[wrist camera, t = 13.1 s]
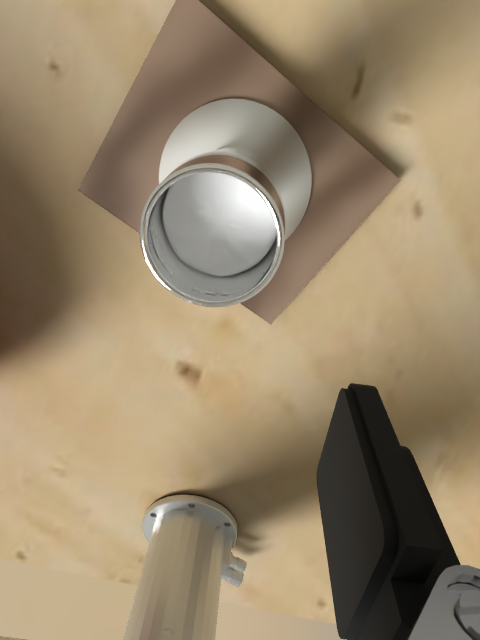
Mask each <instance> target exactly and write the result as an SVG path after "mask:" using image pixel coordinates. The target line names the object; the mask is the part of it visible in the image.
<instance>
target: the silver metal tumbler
mask: <svg viewBox="0 0 480 640" xmlns="http://www.w3.org/2000/svg"><path fill="white" fill-rule="evenodd" d="M285 227H286V219H285V208H284V203H283V199H282V196H281V193H280V191H279V189H278V186H277V184H276V182H275V181H274V179H273V177H272V176H271V173H270V170H269V168H268V166H267V165H266V163H265V162H264V161H263V160H262V158H261V157H260V156H258V155H257V154H256V153H254V152H253V151H251V150H249V149H246V148H243V147H237V146H231V147H225V148H222V149H219V150H212V151H207V152H204V153H201V154H198V155H195V156H193V157H191V158H189V159H187V160H185V161H184V162H183V163H181V164H180V165H179V166H177V167H176V168H175V169H174V170H173V171H171V172H170V173H169V174H168V176H167V177H166V178H165V179H164V180H163V181H162V182H161V183H160V184H159V185H158V186H157V187H156V188H155V190H154V191H153V192H152V194H151V195H150V197H149V198H148V200H147V202H146V204H145V207H144V210H143V213H142V217H141V222H140V242H141V248H142V252H143V255H144V258H145V260H146V263H147V265H148V267H149V268H150V270H151V272H152V273H153V275H154V276H155V277H156V279H157V280H158V281H159V282H160V283H161V284H162V285H163V286H164V287H165V288H166V289H167V290H168V291H170V292H171V293H172V294H174V295H175V296H177V297H179V298H181V299H183V300H185V301H187V302H190V303H193V304H196V305H200V306H206V307H225V306H231V305H235V304H238V303H241V302H244V301H246V300H248V299H250V298H251V297H253V296H255V295H256V294H257V293H259V292H260V291H261V290H262V289H263V288H264V287H265V286H266V285H267V284H268V283H269V282H270V281H271V279H272V278H273V276H274V275H275V273H276V271H277V269H278V267H279V265H280V262H281V259H282V256H283V251H284V243H285Z"/></svg>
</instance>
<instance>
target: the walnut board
mask: <svg viewBox="0 0 480 640" xmlns="http://www.w3.org/2000/svg"><path fill="white" fill-rule="evenodd" d="M231 146H237V147H243V148H246V149H249V150H251V151H253V152H254V153H256V154H257V155H258V156H260V157H261V158H262V160H263V161H264V162H265V163H266V165H267V166H268V168H269V170H270V173H271V176H272V177H273V179H274V181H275V182H276V184H277V186H278V189H279V191H280V193H281V196H282V199H283V203H284V208H285V219H286V227H285V243H284V251H283V256H282V259H281V262H280V265H279V267H278V269H277V271H276V273H275V275H274V276H273V278H272V279H271V281H270V282H269V283H268V284H267V285H266V286H265V287H264V288H263V289H262V290H261V291H260V292H259V293H257V294H256V295H255V296H253V297H251V298H250V299H248V300H246V301H244V302H241V304H242V305H244V306H245V307H246V308H248V309H249V310H251V311H252V312H254V313H255V314H257V315H258V316H259V317H261V318H262V319H264V320H265V321H267V322H268V323H269V324H272V323H273V321H274V320H275V319H276V318H277V317H278V316H279V315H280V314H281V313H282V311H283V310H284V309H285V308H286V307H287V306H288V305H289V304H290V303H291V301H292V300H293V299H294V298H295V297H296V296H297V295H298V294H299V293H300V292H301V290H302V289H303V288H304V287H305V286H306V285H307V284H308V283H309V282H310V280H311V279H312V278H313V277H314V276H315V275H316V274H317V273H318V272H319V270H320V269H321V268H322V267H323V266H324V265H325V264H326V263H327V262H328V260H329V259H330V258H331V257H332V256H333V255H334V254H335V253H336V252H337V250H338V249H339V248H340V247H341V246H342V245H343V244H344V243H345V242H346V240H347V239H348V238H349V237H350V236H351V235H352V234H353V233H354V232H355V231H356V229H357V228H358V227H359V226H360V225H361V224H362V223H363V222H364V221H365V219H366V218H367V217H368V216H369V215H370V214H371V213H372V212H373V211H374V209H375V208H376V207H377V206H378V205H379V204H380V203H381V202H382V201H383V199H384V198H385V197H386V196H387V195H388V194H389V193H390V192H391V191H392V189H393V188H394V187H395V186H396V185H397V184H398V183H399V182H400V181H401V180H400V179H399V178H397V177H396V176H395V175H394V174H393V173H392V172H391V171H390V170H389V169H387V168H386V167H385V166H384V165H383V164H382V163H381V162H380V161H378V160H377V159H376V158H375V157H374V156H373V155H372V154H371V153H369V152H368V151H367V150H366V149H365V148H364V147H363V146H362V145H360V144H359V143H358V142H357V141H356V140H355V139H354V138H353V137H351V136H350V135H349V134H348V133H347V132H346V131H345V130H344V129H342V128H341V127H340V126H339V125H338V124H337V123H336V122H335V121H334V120H332V119H331V118H330V117H329V116H328V115H327V114H326V113H325V112H323V111H322V110H321V109H320V108H319V107H318V106H317V105H316V104H314V103H313V102H312V101H311V100H310V99H309V98H308V97H307V96H305V95H304V94H303V93H302V92H301V91H300V90H299V89H298V88H296V87H295V86H294V85H293V84H292V83H291V82H290V81H289V80H287V79H286V78H285V77H284V76H283V75H282V74H281V73H280V72H278V71H277V70H276V69H275V68H274V67H273V66H272V65H271V64H270V63H268V62H267V61H266V60H265V59H264V58H263V57H262V56H261V55H259V54H258V53H257V52H256V51H255V50H254V49H253V48H252V47H250V46H249V45H248V44H247V43H246V42H245V41H244V40H243V39H241V38H240V37H239V36H238V35H237V34H236V33H235V32H234V31H232V30H231V29H230V28H229V27H228V26H227V25H226V24H225V23H223V22H222V21H221V20H220V19H219V18H218V17H217V16H216V15H215V14H213V13H212V12H211V11H210V10H209V9H208V8H207V7H206V6H204V5H203V4H202V3H201V2H200V1H199V0H176V1H175V3H174V5H173V7H172V9H171V11H170V13H169V15H168V17H167V19H166V21H165V23H164V25H163V27H162V29H161V30H160V32H159V34H158V36H157V38H156V40H155V42H154V44H153V46H152V48H151V50H150V52H149V54H148V56H147V58H146V60H145V62H144V63H143V65H142V67H141V69H140V71H139V73H138V75H137V77H136V79H135V81H134V83H133V85H132V87H131V89H130V91H129V93H128V95H127V97H126V98H125V100H124V102H123V104H122V106H121V108H120V110H119V112H118V114H117V116H116V118H115V120H114V122H113V124H112V126H111V128H110V130H109V131H108V133H107V135H106V137H105V139H104V141H103V143H102V145H101V147H100V149H99V151H98V153H97V155H96V157H95V159H94V161H93V163H92V165H91V166H90V168H89V170H88V172H87V174H86V176H85V178H84V180H83V182H82V184H81V186H80V188H79V190H78V191H80V192H81V193H83V194H84V195H85V196H87V197H88V198H90V199H91V200H93V201H94V202H95V203H97V204H98V205H100V206H101V207H103V208H104V209H106V210H107V211H108V212H110V213H111V214H113V215H114V216H116V217H117V218H118V219H120V220H121V221H123V222H124V223H126V224H127V225H129V226H130V227H131V228H133V229H134V230H136V231H137V232H139V233H140V222H141V217H142V213H143V210H144V207H145V204H146V202H147V200H148V198H149V197H150V195H151V194H152V192H153V191H154V190H155V188H156V187H157V186H158V185H159V184H160V183H161V182H162V181H163V180H164V179H165V178H166V177H167V176H168V174H169V173H170V172H171V171H173V170H174V169H175V168H176V167H177V166H179V165H180V164H181V163H183V162H184V161H185V160H187V159H189V158H191V157H193V156H195V155H198V154H201V153H204V152H207V151H212V150H219V149H222V148H225V147H231Z"/></svg>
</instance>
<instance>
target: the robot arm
mask: <svg viewBox="0 0 480 640" xmlns="http://www.w3.org/2000/svg"><path fill="white" fill-rule="evenodd" d="M317 488H318V495H319V502H320V509H321V517H322V524H323V531H324V538H325V545H326V552H327V559H328V566H329V574H330V581H331V588H332V595H333V602H334V609H335V616H336V624H337V629H338V634H339V636H340V638H341V639H347V640H480V569H478V568H475V567H472V566H469V565H460V562H459V560H458V558H457V556H456V553H455V551H454V549H453V546H452V544H451V542H450V540H449V537H448V535H447V533H446V530H445V528H444V526H443V524H442V521H441V519H440V517H439V514H438V512H437V510H436V507H435V505H434V503H433V501H432V498H431V496H430V494H429V491H428V489H427V487H426V485H425V482H424V480H423V478H422V475H421V473H420V471H419V469H418V466H417V464H416V462H415V459H414V457H413V455H412V453H411V452H410V450H409V449H408V448H407V447H404V446H400V444H399V441H398V439H397V437H396V434H395V432H394V429H393V427H392V424H391V422H390V420H389V417H388V415H387V412H386V410H385V407H384V405H383V403H382V400H381V398H380V395H379V393H378V390H377V389H376V387H374V386H368V385H361V384H353V383H351V384H350V385H349V386H348V389H344V388H342V389H341V390H340V392H339V395H338V399H337V402H336V405H335V409H334V412H333V416H332V419H331V423H330V426H329V430H328V433H327V437H326V440H325V444H324V447H323V451H322V454H321V458H320V461H319V464H318V468H317ZM142 530H143V534H144V536H145V538H146V540H147V541H148V542H149V546H148V549H147V553H146V557H145V560H144V564H143V568H142V571H141V575H140V579H139V582H138V586H137V590H136V593H135V597H134V601H133V604H132V608H131V612H130V615H129V619H128V623H127V626H126V630H125V633H124V637H123V640H215V634H216V624H217V614H218V604H219V594H220V584H221V578H222V579H224V580H225V581H226V582H228V583H230V584H232V585H234V586H237V587H238V586H240V584H241V583H242V580H243V576H244V575H243V572H244V570H245V568H246V562H245V561H244V560H242V559H240V558H238V557H235V556H233V554H232V552H231V549H232V548H233V547H234V545H235V543H236V539H237V524H236V521H235V519H234V517H233V516H232V514H231V513H230V512H229V511H228V510H227V509H226V508H224V507H223V506H222V505H220V504H218V503H216V502H215V501H213V500H210V499H207V498H204V497H200V496H196V495H174V496H169V497H166V498H163V499H160V500H158V501H157V502H155V503H153V504H152V505H151V506H150V507H149V508H148V510H147V511H146V513H145V516H144V519H143V523H142ZM0 640H25V639H17V638H10V637H2V636H0Z"/></svg>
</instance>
